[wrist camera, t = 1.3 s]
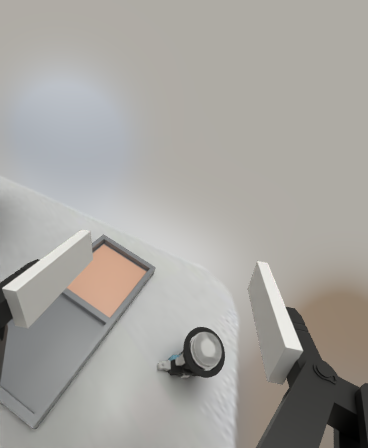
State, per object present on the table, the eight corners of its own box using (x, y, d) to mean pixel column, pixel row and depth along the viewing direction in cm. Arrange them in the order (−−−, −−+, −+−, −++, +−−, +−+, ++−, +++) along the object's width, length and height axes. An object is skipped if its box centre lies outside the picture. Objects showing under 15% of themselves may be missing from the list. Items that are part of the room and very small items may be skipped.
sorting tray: (-46, 361, 24) (-54, 357, 22) (103, 240, 42) (103, 234, 40) (35, 428, 22) (32, 428, 21) (153, 273, 40) (155, 267, 39)
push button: (156, 389, 28) (177, 376, 21) (157, 345, 31) (175, 322, 25) (200, 387, 29) (232, 374, 23) (196, 346, 33) (223, 325, 27)
